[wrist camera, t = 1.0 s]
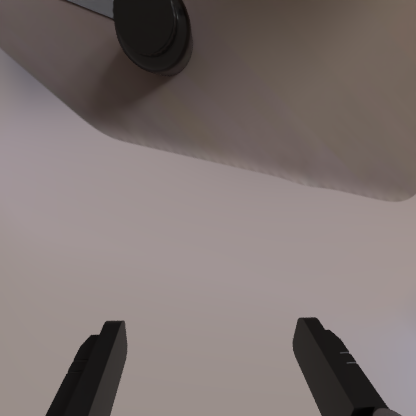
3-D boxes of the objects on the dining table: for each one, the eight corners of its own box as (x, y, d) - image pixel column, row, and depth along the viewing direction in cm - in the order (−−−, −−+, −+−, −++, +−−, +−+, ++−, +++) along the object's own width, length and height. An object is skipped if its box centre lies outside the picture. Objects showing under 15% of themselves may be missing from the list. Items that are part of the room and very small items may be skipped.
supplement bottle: (129, 58, 28) (88, 41, 18) (148, -6, 25) (111, -72, 15) (179, 86, 30) (169, 85, 19) (202, 29, 27) (204, -9, 17)
